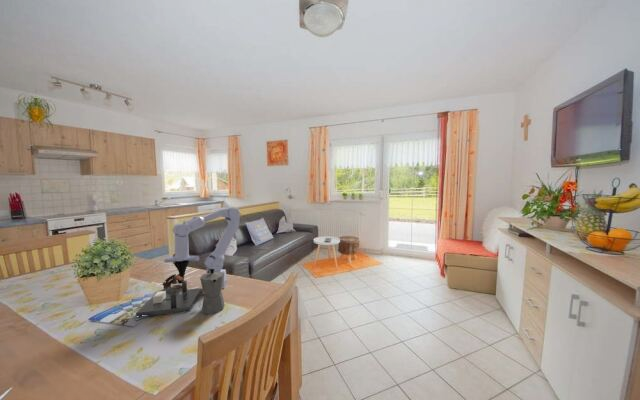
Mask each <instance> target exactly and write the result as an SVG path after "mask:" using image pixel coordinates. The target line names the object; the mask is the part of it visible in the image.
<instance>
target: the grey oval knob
mask: <svg viewBox="0 0 640 400" xmlns="http://www.w3.org/2000/svg"><path fill="white" fill-rule="evenodd" d="M187 283H188V281H187V280H184V281H182V283H181V290H182V292H187V289H188V286H187Z"/></svg>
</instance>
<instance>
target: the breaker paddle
mask: <svg viewBox="0 0 640 400" xmlns="http://www.w3.org/2000/svg"><path fill="white" fill-rule="evenodd" d="M166 292H167V291H166V290H163V291H157V292H156V293H154V295H152V297H153V304H154V303H161V302H162V301H163V300H164V299H165V298H166Z"/></svg>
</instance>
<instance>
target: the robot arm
mask: <svg viewBox="0 0 640 400" xmlns="http://www.w3.org/2000/svg"><path fill="white" fill-rule="evenodd" d="M241 213H242V212H241V211H240V209H239V208H238V207H235V206H229V205H226V206H224V207H220V208H219V209H216V210H214V211H212V212H209V213H208V214H205V215H204V216H200V215H194V216H193V217H192V218H190V219H188V220H183V221H182V222H179V223H176V224H174V226H173V228H172V232H173V234H174V256H170V257H169V256H168V257H164V258H163V262H164V263H165V264H166V263H174V266H175V268H176V269H177V271H178V274H180V277H183V276H184V277H185V275H186V270H187V268H188V265H189V262H192V261H193V262H198V261H199V260H200V255H190V252H189V251H190V250H189V248H190V247H189V245H190V244H189V243H190V242H189V234H190V233H191V232H193V231H195V230H198V229H201V228H202V227H204V226H205V224H206V223H209V222H210V221H213V220H216V219H218V218H220V217H222V218H224V219H225V220H226V222H227V226H226V228H225V230H224V232H223V234H222V236H221V237H220V238H219V241H218V243H217V245H216V247H215V249H214V250H213V251H212V252H210V254H209V255H208V256H207V257H206V258H205V260H204V267H206V271H205V272H206V273H205V274H207V273H208V270H209V269H214V272H222V273H224V276H223V284H222V289H221V290H223V289H224V288H225V287H226V285H227V269H223V267H224V261H225V253H226V251H227V249H228V247H229V246H230V244H231V242H232V240H233V238H234V236H235V234H236V232H237V230H238V228H239V226H240V218H241V215H242V214H241Z"/></svg>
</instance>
